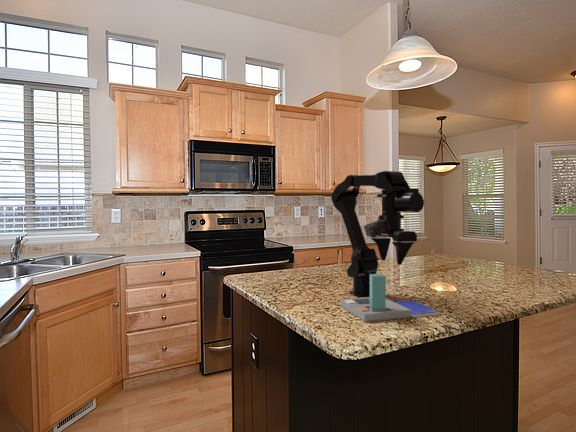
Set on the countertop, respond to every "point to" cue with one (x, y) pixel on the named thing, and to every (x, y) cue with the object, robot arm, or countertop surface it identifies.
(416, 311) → the hard drive
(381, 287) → the plug
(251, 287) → the countertop surface
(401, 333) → the countertop surface
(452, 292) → the countertop surface
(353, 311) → the socket board
